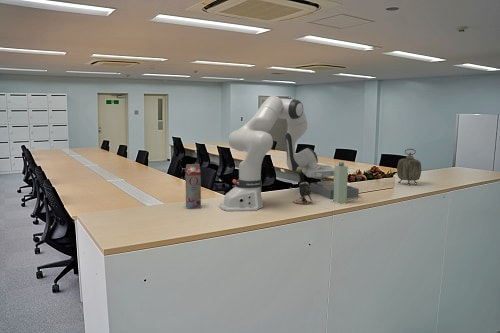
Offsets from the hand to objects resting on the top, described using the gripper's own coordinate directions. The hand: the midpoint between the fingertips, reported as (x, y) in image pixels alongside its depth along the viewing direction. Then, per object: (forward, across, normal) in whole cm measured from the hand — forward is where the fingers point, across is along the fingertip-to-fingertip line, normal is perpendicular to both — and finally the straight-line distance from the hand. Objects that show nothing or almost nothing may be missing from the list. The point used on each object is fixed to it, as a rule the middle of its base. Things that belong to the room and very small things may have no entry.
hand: (329, 175), depth 221 cm
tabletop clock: (-24, +76, +14) cm, 81 cm away
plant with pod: (+8, -20, +13) cm, 26 cm away
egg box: (-11, +6, +12) cm, 17 cm away
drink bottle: (+12, 0, +13) cm, 18 cm away
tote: (-5, +6, +13) cm, 15 cm away
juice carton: (+1, -78, +13) cm, 79 cm away
